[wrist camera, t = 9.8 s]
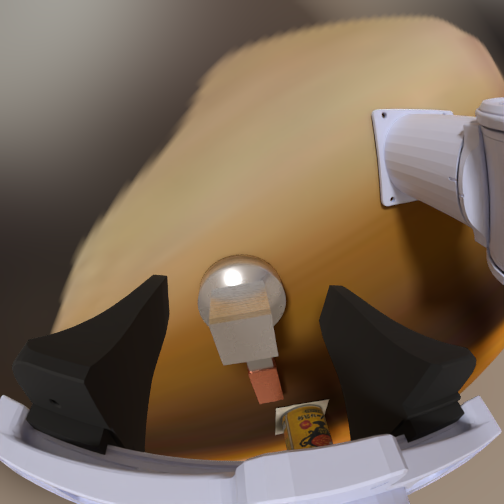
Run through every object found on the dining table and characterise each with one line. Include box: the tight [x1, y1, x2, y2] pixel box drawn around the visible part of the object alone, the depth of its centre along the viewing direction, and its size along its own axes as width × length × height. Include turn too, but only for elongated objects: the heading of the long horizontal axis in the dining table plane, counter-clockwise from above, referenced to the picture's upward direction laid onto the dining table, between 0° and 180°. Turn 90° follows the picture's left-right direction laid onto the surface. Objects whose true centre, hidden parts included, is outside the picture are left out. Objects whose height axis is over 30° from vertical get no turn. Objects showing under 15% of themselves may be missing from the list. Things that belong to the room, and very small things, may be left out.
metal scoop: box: [198, 255, 286, 404], centre depth 23 cm, size 18×7×4 cm, turn 12°
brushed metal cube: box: [209, 280, 278, 365], centre depth 19 cm, size 4×4×4 cm
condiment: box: [275, 399, 333, 450], centre depth 28 cm, size 7×8×12 cm
